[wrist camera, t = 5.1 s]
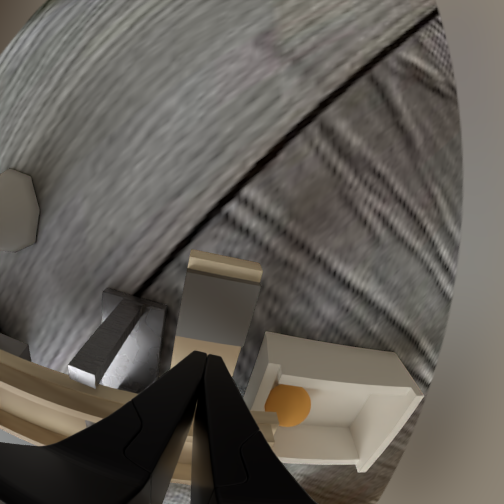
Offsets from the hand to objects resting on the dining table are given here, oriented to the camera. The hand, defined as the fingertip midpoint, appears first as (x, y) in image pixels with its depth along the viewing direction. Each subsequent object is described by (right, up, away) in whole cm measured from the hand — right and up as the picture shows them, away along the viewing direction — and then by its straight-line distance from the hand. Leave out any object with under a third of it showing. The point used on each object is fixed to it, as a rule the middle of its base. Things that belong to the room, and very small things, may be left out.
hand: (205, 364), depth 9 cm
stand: (-8, -5, +14) cm, 17 cm away
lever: (-8, -2, +7) cm, 11 cm away
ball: (+4, -8, +13) cm, 16 cm away
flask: (-19, +7, +11) cm, 23 cm away
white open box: (+7, -8, +15) cm, 19 cm away
